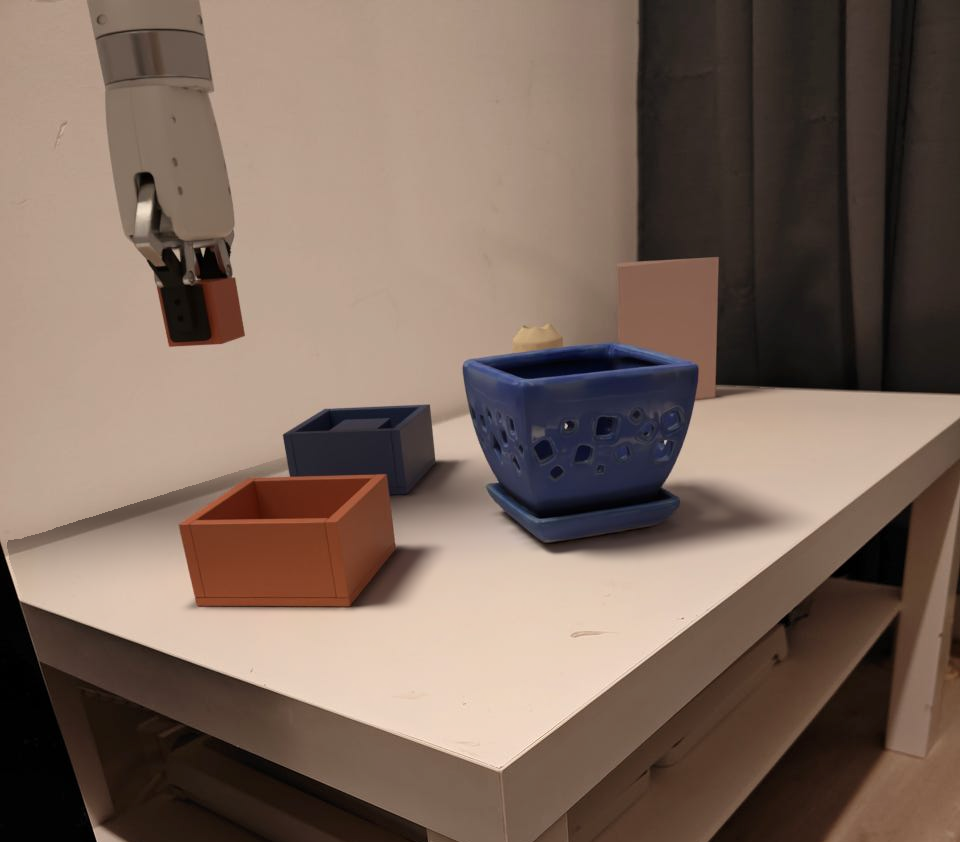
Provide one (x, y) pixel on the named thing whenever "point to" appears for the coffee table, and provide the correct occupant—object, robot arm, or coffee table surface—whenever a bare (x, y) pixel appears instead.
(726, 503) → the coffee table surface
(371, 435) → the navy bin
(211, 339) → the terracotta block
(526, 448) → the flower pot
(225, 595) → the terracotta bin
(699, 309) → the greeting card
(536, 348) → the candle
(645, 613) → the coffee table surface
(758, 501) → the coffee table surface
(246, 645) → the coffee table surface
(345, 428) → the navy block
